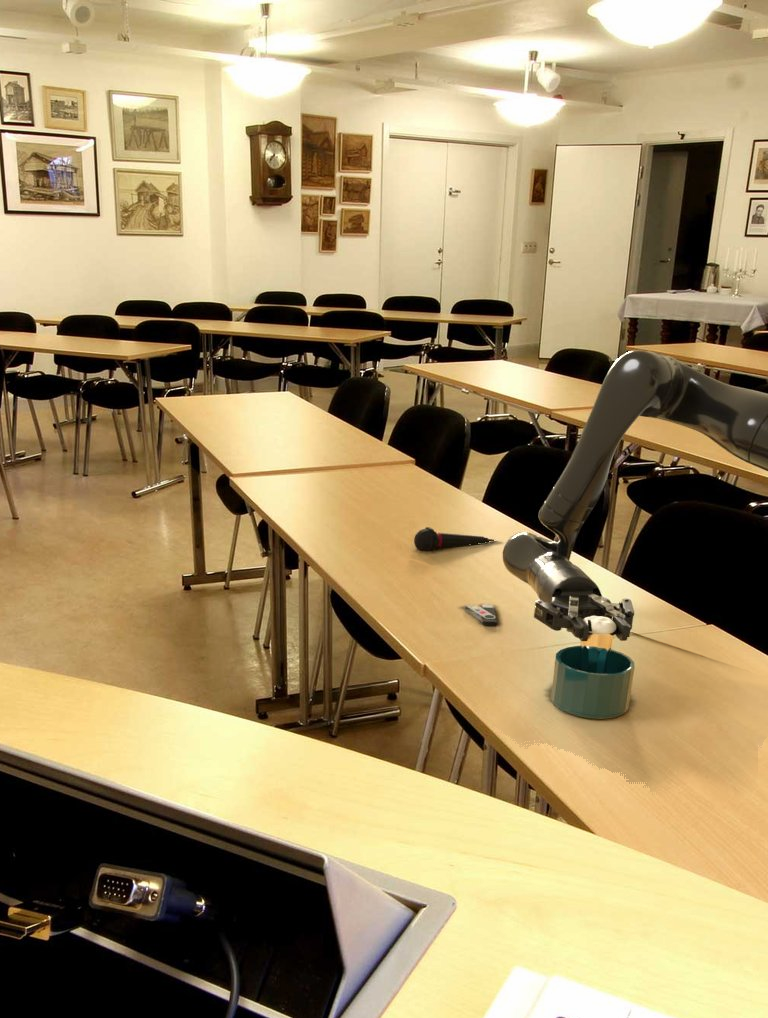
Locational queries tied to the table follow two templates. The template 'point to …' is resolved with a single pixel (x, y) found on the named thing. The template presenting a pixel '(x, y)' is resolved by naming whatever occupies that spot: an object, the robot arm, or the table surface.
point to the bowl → (592, 685)
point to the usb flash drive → (483, 613)
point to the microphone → (444, 540)
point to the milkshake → (597, 645)
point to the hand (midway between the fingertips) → (605, 634)
